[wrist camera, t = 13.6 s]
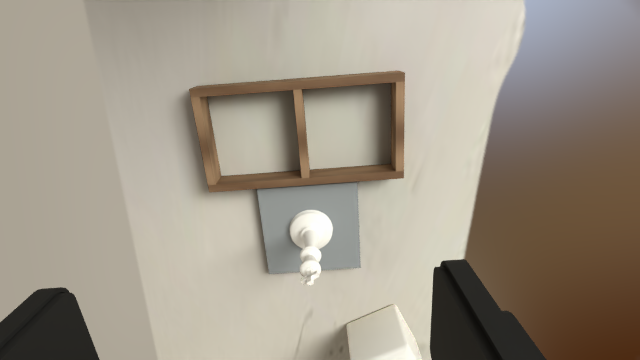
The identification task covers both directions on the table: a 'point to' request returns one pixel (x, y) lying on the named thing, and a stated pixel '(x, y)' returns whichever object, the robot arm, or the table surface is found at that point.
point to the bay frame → (300, 133)
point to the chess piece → (310, 241)
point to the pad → (326, 198)
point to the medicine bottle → (382, 337)
